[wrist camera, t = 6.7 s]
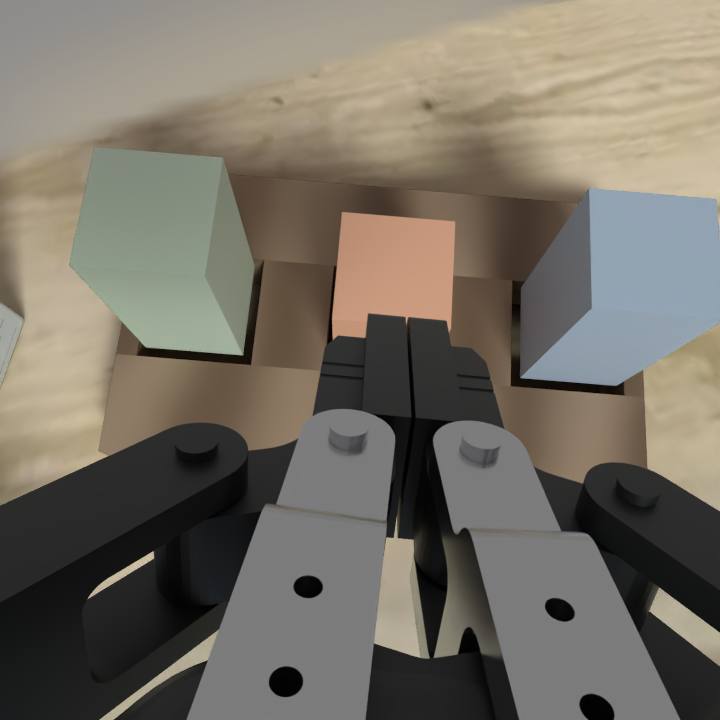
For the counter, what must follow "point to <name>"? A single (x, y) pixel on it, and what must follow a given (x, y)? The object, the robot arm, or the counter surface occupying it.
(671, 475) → the counter surface
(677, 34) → the counter surface
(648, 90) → the counter surface
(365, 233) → the terracotta block
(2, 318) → the small box
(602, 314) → the slate block
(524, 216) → the walnut board
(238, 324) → the sage block
